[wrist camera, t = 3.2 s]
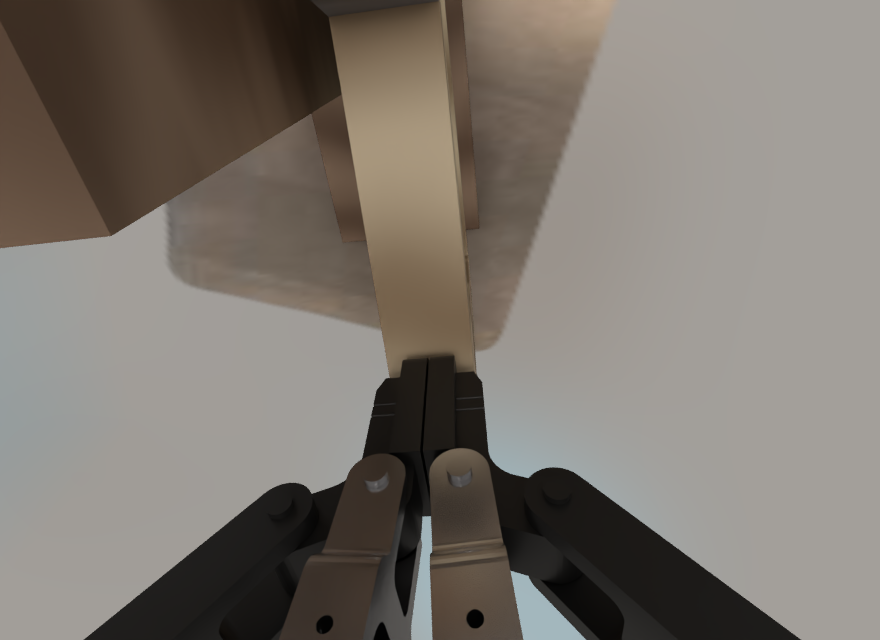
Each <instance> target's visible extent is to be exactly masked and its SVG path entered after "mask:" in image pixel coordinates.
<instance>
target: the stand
mask: <svg viewBox="0 0 880 640" xmlns="http://www.w3.org/2000/svg"><path fill="white" fill-rule="evenodd" d="M445 9H446V20H447V31H448V42H449V53H450V63H451V74H452V85H453V96H454V107H455V118H456V129H457V140H458V151H459V161H460V172H461V183H462V194H463V205H464V216H465V227H466V230H468V229H478V228H479V217H478V204H477V191H476V178H475V165H474V152H473V139H472V127H471V114H470V101H469V88H468V75H467V62H466V49H465V36H464V23H463V10H462V0H445ZM311 113H312V117H313V121H314V125H315V130H316V134H317V138H318V142H319V146H320V150H321V154H322V158H323V163H324V167H325V171H326V175H327V179H328V183H329V187H330V191H331V196H332V200H333V204H334V208H335V212H336V216H337V220H338V224H339V228H340V233H341V237H342V241H343V242H353V241H363V240H366V234H365V228H364V222H363V216H362V210H361V204H360V198H359V193H358V187H357V181H356V175H355V169H354V163H353V157H352V151H351V145H350V139H349V133H348V127H347V121H346V116H345V110H344V104H343V98H342V92H341V86H340V80H339V74H338V68H337V62H336V56H335V50H334V45H333V39H332V33H331V27H330V21H329V17H328V16H327V15H326V14H325V13H324V12H323V11H322V10H321V9H320V8H318V7H317V6H316V5H315V4H314V3H313V2H312V1H311V0H0V248H5V247H13V246H23V245H33V244H42V243H51V242H60V241H69V240H78V239H87V238H97V237H106V236H112V235H113V234H115V233H117V232H118V231H120V230H122V229H123V228H125V227H127V226H128V225H130V224H131V223H133V222H135V221H136V220H138V219H140V218H141V217H143V216H144V215H146V214H148V213H149V212H151V211H153V210H154V209H156V208H157V207H159V206H161V205H162V204H164V203H166V202H167V201H169V200H171V199H172V198H174V197H176V196H177V195H179V194H180V193H182V192H184V191H185V190H187V189H189V188H190V187H192V186H193V185H195V184H197V183H198V182H200V181H202V180H203V179H205V178H206V177H208V176H210V175H211V174H213V173H215V172H216V171H218V170H220V169H221V168H223V167H224V166H226V165H228V164H229V163H231V162H233V161H234V160H236V159H237V158H239V157H241V156H242V155H244V154H246V153H247V152H249V151H250V150H252V149H254V148H255V147H257V146H259V145H260V144H262V143H264V142H265V141H267V140H268V139H270V138H272V137H273V136H275V135H277V134H278V133H280V132H281V131H283V130H285V129H286V128H288V127H290V126H291V125H293V124H295V123H296V122H298V121H299V120H301V119H303V118H304V117H306V116H308V115H309V114H311Z"/></svg>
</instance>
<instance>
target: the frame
mask: <svg viewBox="0 0 880 640" xmlns="http://www.w3.org/2000/svg"><path fill="white" fill-rule="evenodd" d="M311 1H312V2H313V3H314V4H315V5H316V6H317V7H318V8H320V9H321V10H322V11H323V12H324V13H325V14H326V15H327V16H328V17H329V21H330V27H331V33H332V39H333V45H334V50H335V56H336V62H337V68H338V74H339V80H340V86H341V92H342V98H343V104H344V110H345V116H346V121H347V127H348V133H349V139H350V145H351V151H352V157H353V163H354V169H355V175H356V181H357V187H358V193H359V198H360V204H361V210H362V216H363V222H364V228H365V234H366V240H367V246H368V252H369V258H370V264H371V269H372V275H373V281H374V287H375V293H376V299H377V305H378V311H379V317H380V323H381V329H382V335H383V340H384V346H385V352H386V358H387V364H388V370H389V376H390V378H397V377H400V373H401V367H402V361H403V360H405V359H417V358H428V359H429V358H430V357H440V356H452V355H454V356H455V361H456V369H457V373H459V372H471V371H474V372H475V374H476V360H475V342H474V327H473V311H472V295H471V281H470V270H469V259H468V249H467V238H466V227H465V216H464V205H463V194H462V183H461V172H460V161H459V151H458V140H457V129H456V118H455V107H454V96H453V85H452V74H451V63H450V53H449V42H448V31H447V20H446V9H445V0H311ZM476 375H477V374H476Z"/></svg>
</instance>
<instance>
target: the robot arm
mask: <svg viewBox="0 0 880 640" xmlns="http://www.w3.org/2000/svg"><path fill="white" fill-rule="evenodd" d="M371 416H372V418H371V420H370V425H369V429H368V434H367V439H366V444H365V448H364V453H363V458H362V460H360V461H359V462H358V463H356V464H355V465H354V466H353V468H352V469H351V470H350V472H349V474H348V476H347V479H346V480H345V481H344V482H342V483H340V484H339V485H336V486H334V487H331V488H328V489H325V490H322V491H319V492H316V493H313V494H311V492H310V490H309V489H308V488H307V487H306V486H304V485H302V484H298V483H286V484H282V485H279V486H276V487H274V488H272V489H270V490H269V491H267V492H266V493H265V494H263V495H262V496H261V497H260V498H259V499H257V500H256V501H255V502H253V503H252V504H251V505H250V506H248V507H247V508H246V509H245V510H244V511H242V512H241V513H240V514H239V515H238V516H236V517H235V518H234V519H232V520H231V521H230V522H229V523H228V524H226V525H225V526H224V527H223V528H221V529H220V530H219V531H218V532H216V533H215V534H214V535H213V536H211V537H210V538H209V539H208V540H207V541H205V542H204V543H203V544H202V545H200V546H199V547H198V548H197V549H195V550H194V551H193V552H192V553H190V554H189V555H188V556H187V557H186V558H184V559H183V560H182V561H180V562H179V563H178V564H177V565H176V566H175V567H173V568H172V569H171V570H169V571H168V572H167V573H166V574H164V575H163V576H162V577H161V578H159V579H158V580H157V581H156V582H155V583H153V584H152V585H151V586H150V587H148V588H147V589H146V590H145V591H143V592H142V593H141V594H140V595H138V596H137V597H136V598H135V599H134V600H132V601H131V602H130V603H129V604H127V605H126V606H125V607H124V608H122V609H121V610H120V611H119V612H117V613H116V614H115V615H114V616H113V617H111V618H110V619H109V620H108V621H106V622H105V623H104V624H103V625H101V626H100V627H99V628H98V629H96V630H95V631H94V632H93V633H92V634H90V635H89V636H88V637H87V638H85V639H84V640H411V623H412V615H413V607H414V600H415V592H416V585H417V578H418V571H419V564H420V556H421V548H422V542H421V530H422V516H431V526H432V553H431V554H430V580H431V609H432V637H433V640H523V636H522V630H521V625H520V620H519V614H518V609H517V604H516V598H515V593H514V587H513V582H512V577H511V572H510V570H511V571H514V572H517V573H521V574H524V575H528V576H529V578H530V580H531V582H532V583H533V585H534V586H535V587H536V588H537V589H538V590H539V591H540V592H541V593H542V594H543V595H544V596H545V597H546V598H547V599H548V601H550V603H552V605H553V606H554V607H555V608H556V609H557V610H558V611H559V612H560V613H561V614H562V615H563V616H564V617H565V618H566V619H567V620H568V621H569V622H570V623H571V624H572V625H573V626H574V627H575V628H576V630H577V631H578V632H579V633H581V635H582V636H583V637H584V638H585V639H586V640H800V639H799V638H798V637H796V636H795V635H794V634H792V633H791V632H790V631H788V630H787V629H786V628H784V627H783V626H782V625H780V624H779V623H777V622H776V621H775V620H773V619H772V618H771V617H769V616H768V615H767V614H765V613H764V612H763V611H761V610H760V609H759V608H757V607H756V606H754V605H753V604H752V603H750V602H749V601H748V600H746V599H745V598H743V597H742V596H741V595H740V594H738V593H737V592H735V591H734V590H733V589H731V588H730V587H729V586H727V585H726V584H725V583H723V582H722V581H721V580H719V579H718V578H716V577H715V576H713V574H711V573H710V572H708V571H707V570H705V569H704V568H703V567H701V566H700V565H699V564H698V563H696V562H695V561H694V560H692V559H691V558H690V557H688V556H687V555H685V554H684V553H683V552H681V551H680V550H679V549H677V548H676V547H674V546H673V545H672V544H670V543H669V542H668V541H666V540H665V539H663V538H662V537H661V536H660V535H658V534H657V533H655V532H654V531H653V530H651V529H650V528H649V527H648V526H646V525H645V524H643V523H642V522H640V521H639V520H638V519H637V518H635V517H634V516H633V515H631V514H630V513H629V512H627V511H626V510H625V509H623V508H622V507H620V506H619V505H618V504H616V503H615V502H614V501H612V500H611V499H610V498H608V497H607V496H605V495H604V494H603V493H601V492H600V491H599V490H597V489H596V488H594V487H593V486H592V485H591V484H589V483H588V482H587V481H585V480H584V479H583V478H581V477H580V476H578V475H577V474H575V473H574V472H571V471H569V470H566V469H563V468H545V469H541V470H539V471H537V472H535V473H534V474H533V475H531V477H529V478H525V477H521V476H516V475H513V474H509V473H507V472H505V471H503V470H501V469H500V468H499V467H498V466H496V465H495V464H494V462H493V461H492V460H491V458H490V456H489V452H488V443H487V432H486V421H485V409H484V398H483V387H482V382H481V380H480V379H479V378H478V376H477V375H476V374H475V372H474V371H471V372H459V373H457V369H456V361H455V356H454V355H452V356H440V357H430V358H429V359H428V358H417V359H405V360H403V361H402V367H401V373H400V377H397V378H387V379H385V381H384V382H383V383H382V385H381V386H380V387H379V388H378V390H377V391H376V396H375V400H374V407H373V410H372V415H371Z"/></svg>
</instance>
